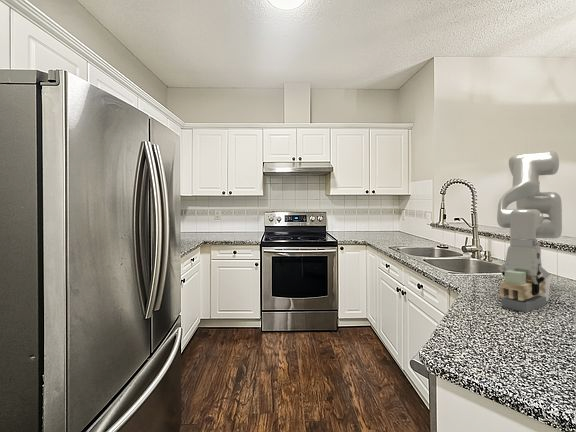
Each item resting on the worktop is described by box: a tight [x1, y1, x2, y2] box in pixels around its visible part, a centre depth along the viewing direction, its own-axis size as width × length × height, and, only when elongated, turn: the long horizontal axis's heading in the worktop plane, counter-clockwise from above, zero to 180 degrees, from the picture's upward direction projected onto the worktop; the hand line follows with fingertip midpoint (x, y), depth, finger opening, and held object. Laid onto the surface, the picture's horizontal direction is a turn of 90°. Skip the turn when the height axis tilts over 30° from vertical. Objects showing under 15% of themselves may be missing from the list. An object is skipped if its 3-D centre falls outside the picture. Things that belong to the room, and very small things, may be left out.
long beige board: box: [499, 279, 545, 301], centre depth 118 cm, size 18×7×5 cm, turn 121°
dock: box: [501, 295, 547, 313], centre depth 118 cm, size 15×8×3 cm, turn 121°
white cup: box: [539, 274, 551, 302], centre depth 126 cm, size 8×8×10 cm
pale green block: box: [504, 270, 526, 285], centre depth 115 cm, size 4×5×4 cm
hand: (522, 291), depth 118 cm, fingers closed on long beige board, 7 cm apart
